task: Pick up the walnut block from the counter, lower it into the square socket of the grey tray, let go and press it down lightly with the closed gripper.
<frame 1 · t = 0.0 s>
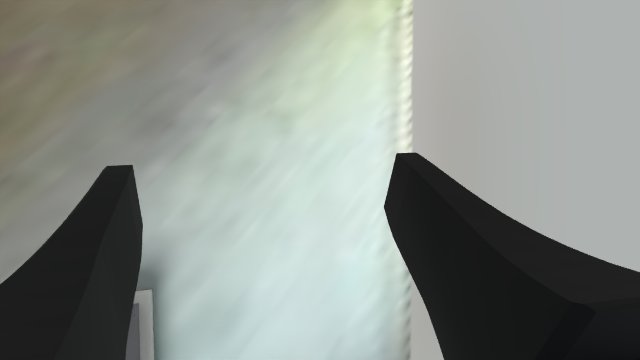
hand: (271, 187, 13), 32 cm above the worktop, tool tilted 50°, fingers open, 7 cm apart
grey tray: (78, 358, 40), on the worktop
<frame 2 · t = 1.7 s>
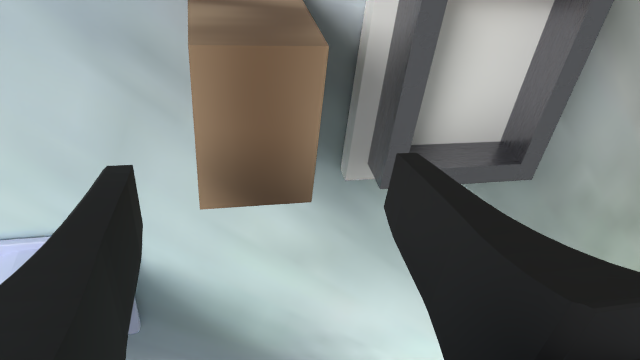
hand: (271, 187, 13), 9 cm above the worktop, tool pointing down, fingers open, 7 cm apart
plug block: (242, 57, 20), on the worktop
grey tray: (460, 59, 22), on the worktop
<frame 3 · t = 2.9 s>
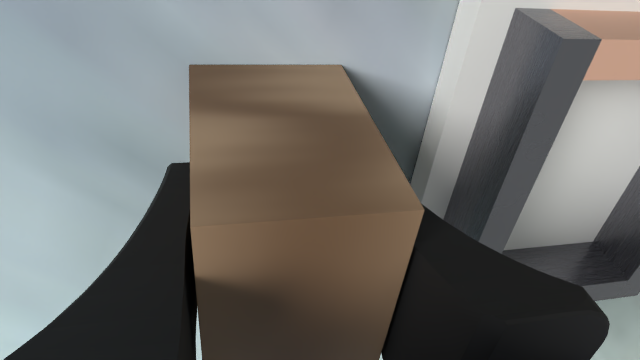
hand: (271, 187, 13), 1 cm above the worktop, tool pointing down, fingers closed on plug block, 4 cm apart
plug block: (264, 158, 14), on the worktop, touching gripper
grey tray: (552, 146, 17), on the worktop
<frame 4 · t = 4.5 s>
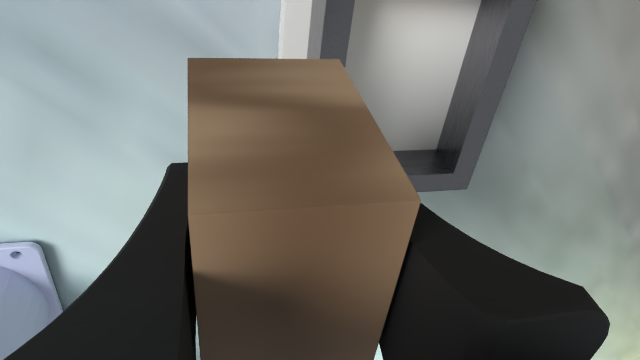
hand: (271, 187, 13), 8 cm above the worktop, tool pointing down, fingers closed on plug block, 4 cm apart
plug block: (262, 152, 14), point 7 cm above the worktop, touching gripper
grey tray: (388, 64, 21), on the worktop
when the fingers open (4 cm above the worktop, at t = 6.1 s): plug block drops 1 cm, resting on grey tray.
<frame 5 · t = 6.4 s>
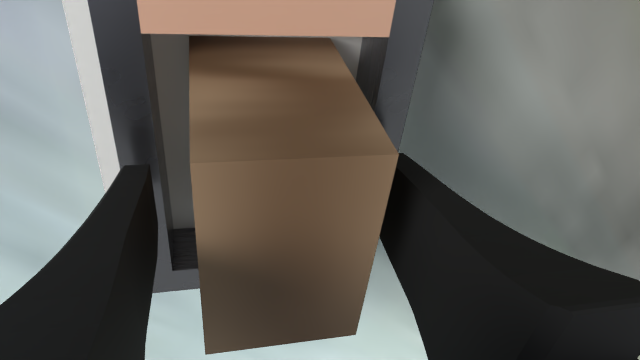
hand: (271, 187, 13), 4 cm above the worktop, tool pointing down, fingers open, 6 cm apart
plug block: (259, 127, 15), point 1 cm above the worktop, touching grey tray
grey tray: (255, 116, 16), on the worktop
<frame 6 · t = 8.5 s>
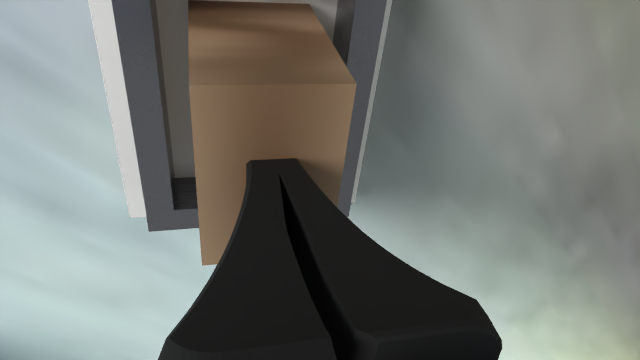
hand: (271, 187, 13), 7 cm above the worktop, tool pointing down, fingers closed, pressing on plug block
plug block: (249, 84, 18), point 1 cm above the worktop, touching gripper, grey tray
grey tray: (246, 76, 19), on the worktop
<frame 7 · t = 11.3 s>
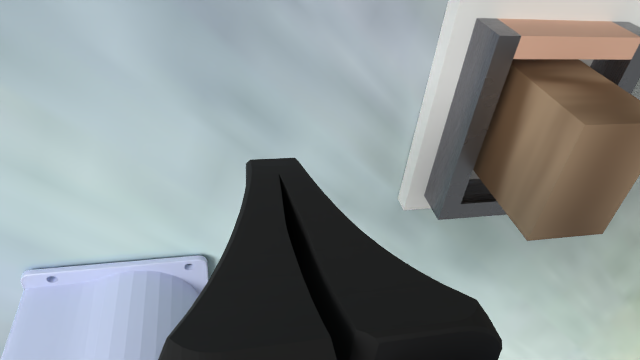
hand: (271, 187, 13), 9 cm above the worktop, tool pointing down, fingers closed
plug block: (519, 113, 25), point 1 cm above the worktop, touching grey tray
grey tray: (507, 106, 25), on the worktop
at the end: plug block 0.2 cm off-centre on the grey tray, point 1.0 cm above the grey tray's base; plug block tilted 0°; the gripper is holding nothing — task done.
